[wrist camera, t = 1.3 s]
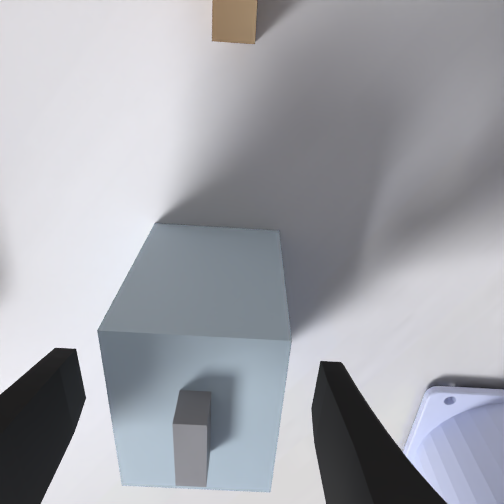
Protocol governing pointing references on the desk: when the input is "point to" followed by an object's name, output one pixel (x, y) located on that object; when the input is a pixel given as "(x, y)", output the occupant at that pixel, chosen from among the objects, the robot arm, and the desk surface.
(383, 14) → the desk surface
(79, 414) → the robot arm
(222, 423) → the cabinet block
